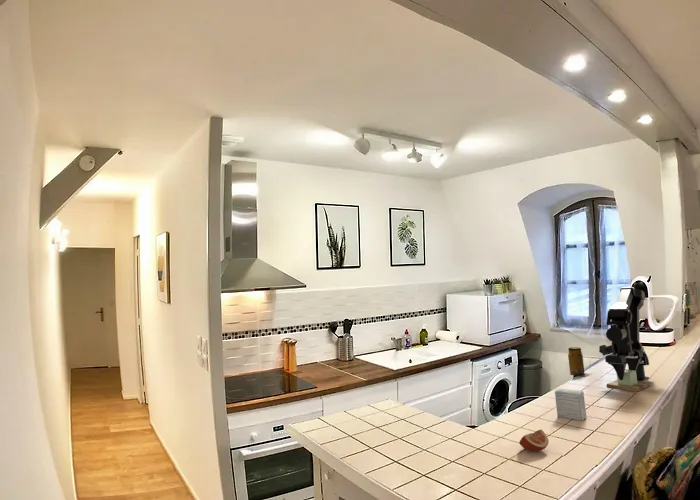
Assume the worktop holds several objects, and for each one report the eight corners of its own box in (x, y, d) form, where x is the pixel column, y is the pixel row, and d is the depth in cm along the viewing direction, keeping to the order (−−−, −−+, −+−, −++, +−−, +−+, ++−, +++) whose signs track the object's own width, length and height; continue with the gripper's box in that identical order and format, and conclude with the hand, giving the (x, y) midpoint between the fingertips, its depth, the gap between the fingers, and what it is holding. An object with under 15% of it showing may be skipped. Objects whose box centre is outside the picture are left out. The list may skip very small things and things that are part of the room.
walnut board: (620, 381, 182) (619, 379, 182) (649, 386, 173) (649, 383, 173) (606, 387, 176) (606, 384, 176) (636, 391, 167) (635, 388, 167)
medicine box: (587, 417, 143) (583, 390, 143) (583, 421, 140) (580, 394, 140) (561, 414, 148) (558, 388, 149) (557, 417, 145) (554, 391, 146)
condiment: (573, 371, 206) (570, 346, 207) (592, 373, 200) (589, 347, 200) (566, 374, 201) (563, 348, 202) (585, 377, 195) (582, 350, 196)
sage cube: (624, 381, 178) (622, 369, 179) (637, 383, 174) (635, 370, 175) (618, 383, 176) (616, 371, 176) (631, 385, 171) (629, 372, 172)
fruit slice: (533, 443, 125) (531, 425, 125) (555, 450, 119) (553, 431, 120) (515, 451, 120) (513, 433, 121) (537, 458, 115) (534, 439, 115)
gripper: (613, 334, 188) (617, 371, 187) (589, 340, 178) (594, 379, 177) (641, 336, 179) (646, 374, 178) (618, 342, 169) (623, 383, 167)
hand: (626, 377), depth 175 cm, fingers open, 9 cm apart
